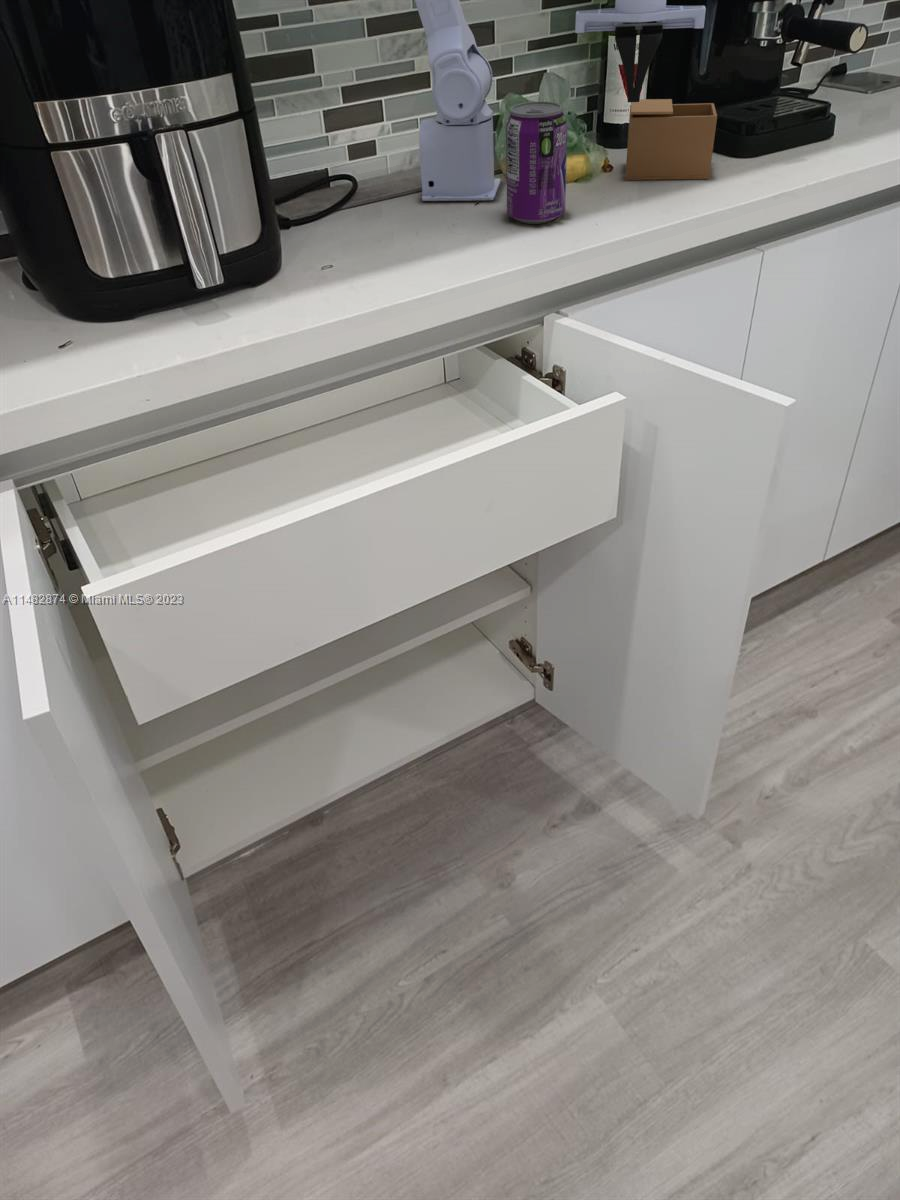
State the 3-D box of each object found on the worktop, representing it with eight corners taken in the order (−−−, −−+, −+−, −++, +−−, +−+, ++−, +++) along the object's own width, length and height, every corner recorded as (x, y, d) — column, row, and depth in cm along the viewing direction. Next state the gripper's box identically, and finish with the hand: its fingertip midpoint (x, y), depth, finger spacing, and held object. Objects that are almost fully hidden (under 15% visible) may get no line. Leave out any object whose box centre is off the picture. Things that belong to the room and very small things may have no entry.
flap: (630, 114, 110) (630, 111, 110) (631, 102, 115) (631, 99, 115) (672, 114, 110) (673, 111, 110) (671, 101, 115) (671, 99, 114)
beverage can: (561, 227, 103) (564, 114, 95) (502, 226, 105) (500, 115, 97) (567, 207, 108) (570, 99, 101) (511, 207, 110) (510, 100, 102)
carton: (625, 180, 116) (629, 118, 111) (626, 165, 121) (630, 105, 116) (709, 179, 114) (717, 116, 109) (706, 164, 119) (713, 103, 114)
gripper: (708, -46, 98) (693, 91, 107) (579, -39, 100) (574, 94, 109) (712, -38, 93) (696, 104, 102) (576, -32, 95) (571, 107, 104)
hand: (633, 100), depth 105 cm, fingers closed
